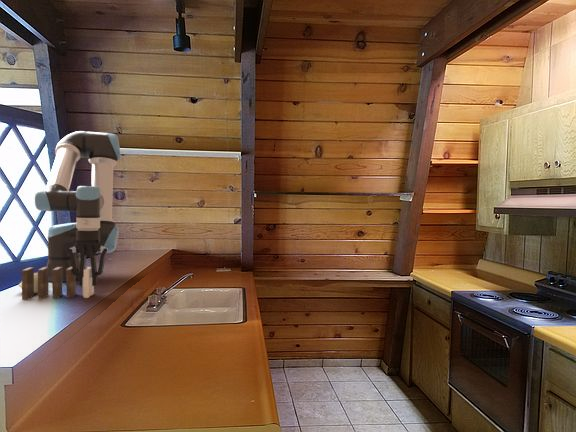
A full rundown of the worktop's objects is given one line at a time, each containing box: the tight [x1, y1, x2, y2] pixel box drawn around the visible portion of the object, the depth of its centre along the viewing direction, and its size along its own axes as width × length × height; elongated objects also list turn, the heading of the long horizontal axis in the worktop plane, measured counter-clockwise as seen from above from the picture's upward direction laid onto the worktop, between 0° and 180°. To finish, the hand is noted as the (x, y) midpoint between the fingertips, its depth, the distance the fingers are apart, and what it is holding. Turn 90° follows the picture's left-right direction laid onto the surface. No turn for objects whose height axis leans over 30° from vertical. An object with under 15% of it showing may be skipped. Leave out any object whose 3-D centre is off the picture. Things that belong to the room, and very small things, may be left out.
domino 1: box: [21, 267, 35, 300], centre depth 134 cm, size 2×5×10 cm, turn 11°
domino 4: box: [65, 267, 77, 299], centre depth 137 cm, size 2×5×10 cm, turn 13°
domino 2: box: [37, 266, 50, 299], centre depth 135 cm, size 2×5×10 cm, turn 14°
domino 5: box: [83, 266, 92, 299], centre depth 138 cm, size 2×5×10 cm, turn 14°
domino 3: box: [51, 267, 63, 299], centre depth 136 cm, size 2×5×10 cm, turn 14°
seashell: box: [18, 272, 38, 295], centre depth 141 cm, size 8×8×8 cm
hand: (88, 294), depth 138 cm, fingers closed on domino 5, 2 cm apart
